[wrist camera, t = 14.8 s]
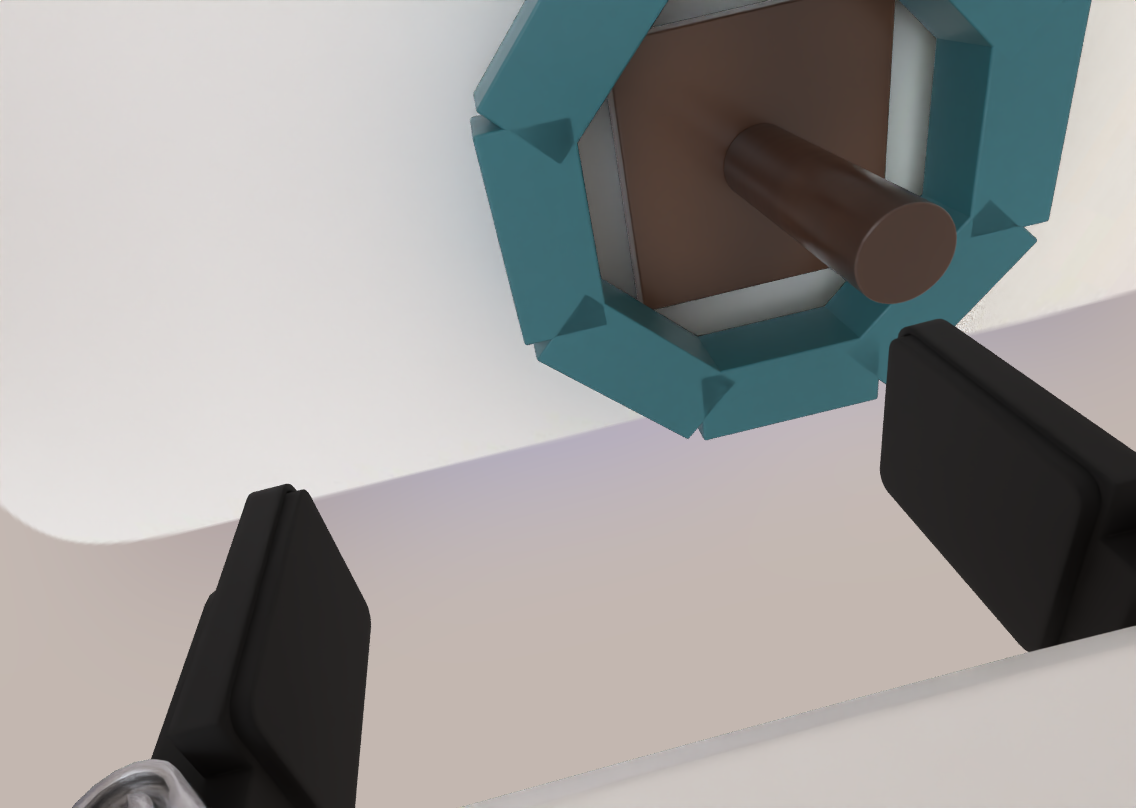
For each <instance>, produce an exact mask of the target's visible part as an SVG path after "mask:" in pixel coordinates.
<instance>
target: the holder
mask: <svg viewBox="0 0 1136 808" xmlns="http://www.w3.org/2000/svg"><path fill="white" fill-rule="evenodd" d="M894 13H895V0H769V1H764V2H760V3H756V4H751V5H747V6H743V7H738V8H734V9H730V10H725V11H721V12H717V13H712V14H708V15H704V16H700V17H695V18H691V19H687V20H682V21H678V22H674V23H669V24H665V25H661V26H656V27H652V28H650V30H649V32H648V33H647V35H646V36H645V38H644V39H643V41H642V42H641V44H640V46H639V47H638V49H637V50H636V52H635V53H634V55H633V57H632V58H631V60H630V61H629V63H628V64H627V66H626V68H625V69H624V71H623V72H622V74H621V75H620V77H619V79H618V80H617V82H616V83H615V85H614V86H613V88H612V90H611V91H610V93H609V94H608V96H607V99H608V105H609V112H610V119H611V126H612V132H613V139H614V146H615V153H616V159H617V166H618V173H619V179H620V186H621V193H622V200H623V206H624V213H625V220H626V227H627V233H628V240H629V247H630V254H631V260H632V267H633V274H634V281H635V287H636V294H637V299H638V301H640V302H641V303H643V304H644V305H646V306H648V307H649V308H651V309H653V310H655V309H659V308H663V307H668V306H672V305H676V304H680V303H684V302H688V301H693V300H697V299H701V298H705V297H709V296H713V295H718V294H722V293H726V292H730V291H734V290H738V289H743V288H747V287H751V286H755V285H759V284H763V283H768V282H772V281H776V280H780V279H784V278H788V277H793V276H797V275H801V274H805V273H809V272H814V271H818V270H822V269H826V268H831V269H832V270H833V271H835V272H836V273H837V274H838V275H840V276H841V277H842V278H843V279H845V280H846V281H847V282H848V283H850V284H851V285H852V286H853V287H855V288H856V289H857V290H858V291H860V292H861V293H862V294H863V295H865V296H866V297H867V298H869V299H871V300H873V301H875V302H878V303H882V304H897V303H903V302H906V301H909V300H911V299H914V298H916V297H918V296H920V295H921V294H923V293H924V292H926V291H927V290H929V289H930V288H931V287H932V286H933V285H934V284H935V283H936V282H937V281H938V280H939V279H940V278H941V277H942V276H943V274H944V273H945V271H946V270H947V268H948V267H949V265H950V263H951V261H952V258H953V256H954V253H955V249H956V244H957V232H956V227H955V224H954V222H953V219H952V218H951V216H950V215H949V213H948V212H947V211H946V210H945V209H943V208H942V207H940V206H938V205H936V204H934V203H932V202H930V201H928V200H926V199H924V198H922V197H920V196H918V195H916V194H914V193H912V192H910V191H908V190H906V189H904V188H902V187H900V186H898V185H896V184H894V183H892V182H890V181H888V180H886V179H885V167H886V149H887V132H888V115H889V98H890V81H891V64H892V47H893V30H894Z"/></svg>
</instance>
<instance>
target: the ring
mask: <svg viewBox="0 0 1136 808" xmlns="http://www.w3.org/2000/svg"><path fill="white" fill-rule="evenodd" d="M899 1H900V2H901V3H902V4H903V5H904V6H905V7H906V8H907V9H908V10H909V11H910V12H911V13H912V14H913V15H914V16H915V17H916V18H917V19H918V20H919V21H920V22H921V23H922V24H923V25H924V26H925V27H926V28H927V29H928V30H929V31H930V32H931V33H932V35H933V36H934V37H935V38H936V50H935V61H934V72H933V83H932V94H931V105H930V116H929V127H928V138H927V149H926V160H925V171H924V182H923V193H922V195H921V196H920V197H922V198H924V199H926V200H928V201H930V202H932V203H934V204H936V205H938V206H940V207H942V208H943V209H945V210H946V211H947V212H948V213H949V215H950V216H951V218H952V219H953V222H954V224H955V227H956V232H957V244H956V249H955V253H954V256H953V258H952V261H951V263H950V265H949V267H948V268H947V270H946V271H945V273H944V274H943V276H942V277H941V278H940V279H939V280H938V281H937V282H936V283H935V284H934V285H933V286H932V287H931V288H930V289H929V290H927V291H926V292H924V293H923V294H921V295H920V296H918V297H916V298H914V299H911V300H909V301H906V302H903V303H897V304H882V303H878V302H875V301H873V300H871V299H869V298H867V297H866V296H865V295H863V294H862V293H861V292H860V291H858V290H857V289H856V288H855V287H853V286H852V285H851V284H850V283H848V282H847V281H846V282H845V283H844V284H843V285H842V287H841V288H840V289H839V290H838V291H837V292H836V293H835V295H834V296H833V297H832V298H831V299H830V300H829V302H828V303H827V304H826V305H825V306H823V307H819V308H815V309H811V310H806V311H802V312H798V313H794V314H790V315H786V316H781V317H777V318H773V319H769V320H765V321H760V322H756V323H752V324H748V325H744V326H739V327H735V328H731V329H727V330H723V331H719V332H714V333H710V334H706V335H702V336H698V337H697V336H696V335H694V334H692V333H691V332H689V331H687V330H686V329H684V328H682V327H681V326H679V325H677V324H676V323H674V322H672V321H671V320H669V319H668V318H666V317H664V316H663V315H661V314H659V313H658V312H656V311H654V310H653V309H651V308H649V307H648V306H646V305H644V304H643V303H641V302H640V301H638V300H636V299H635V298H633V297H631V296H630V295H628V294H626V293H625V292H623V291H621V290H620V289H618V288H616V287H615V286H613V285H611V284H610V283H608V282H607V281H605V280H603V279H602V278H601V275H600V269H599V263H598V258H597V252H596V246H595V240H594V235H593V229H592V223H591V217H590V212H589V206H588V200H587V195H586V189H585V183H584V177H583V172H582V166H581V160H580V154H579V149H578V141H579V140H580V138H581V137H582V135H583V134H584V132H585V130H586V129H587V127H588V126H589V124H590V123H591V121H592V119H593V118H594V116H595V115H596V113H597V112H598V110H599V108H600V107H601V105H602V104H603V102H604V101H605V99H606V97H607V96H608V94H609V93H610V91H611V90H612V88H613V86H614V85H615V83H616V82H617V80H618V79H619V77H620V75H621V74H622V72H623V71H624V69H625V68H626V66H627V64H628V63H629V61H630V60H631V58H632V57H633V55H634V53H635V52H636V50H637V49H638V47H639V46H640V44H641V42H642V41H643V39H644V38H645V36H646V35H647V33H648V32H649V30H650V28H651V27H652V25H653V24H654V22H655V21H656V19H657V17H658V16H659V14H660V13H661V11H662V10H663V8H664V6H665V5H666V3H667V2H668V0H525V2H524V4H523V5H522V7H521V9H520V11H519V13H518V14H517V16H516V18H515V20H514V22H513V23H512V25H511V27H510V29H509V31H508V32H507V34H506V36H505V38H504V39H503V41H502V43H501V45H500V47H499V48H498V50H497V52H496V54H495V56H494V57H493V59H492V61H491V63H490V65H489V66H488V68H487V70H486V72H485V73H484V75H483V77H482V79H481V81H480V82H479V84H478V86H477V88H476V90H475V91H474V101H475V106H476V111H477V112H478V113H479V114H480V116H475V117H472V118H471V119H470V123H471V130H472V137H473V142H474V146H475V150H476V154H477V158H478V162H479V165H480V169H481V173H482V177H483V181H484V185H485V189H486V193H487V197H488V201H489V205H490V209H491V213H492V217H493V221H494V225H495V229H496V233H497V237H498V241H499V245H500V248H501V252H502V256H503V260H504V264H505V268H506V272H507V276H508V280H509V284H510V288H511V292H512V296H513V300H514V304H515V308H516V312H517V316H518V320H519V324H520V328H521V332H522V335H523V339H524V343H525V344H526V345H530V344H534V348H535V352H536V357H537V360H538V361H540V362H542V363H544V364H546V365H547V366H549V367H551V368H553V369H555V370H557V371H559V372H561V373H563V374H565V375H566V376H568V377H570V378H572V379H574V380H576V381H578V382H580V383H582V384H584V385H586V386H587V387H589V388H591V389H593V390H595V391H597V392H599V393H601V394H603V395H605V396H607V397H608V398H610V399H612V400H614V401H616V402H618V403H620V404H622V405H624V406H626V407H628V408H629V409H631V410H633V411H635V412H637V413H639V414H641V415H643V416H645V417H647V418H649V419H650V420H652V421H654V422H656V423H658V424H660V425H662V426H664V427H666V428H668V429H669V430H671V431H673V432H675V433H677V434H679V435H681V436H683V437H685V438H687V439H688V438H690V436H691V435H692V434H693V433H694V431H696V429H697V428H698V429H699V431H700V433H701V434H702V436H703V438H704V440H709V439H713V438H717V437H721V436H725V435H730V434H734V433H738V432H742V431H746V430H750V429H754V428H758V427H763V426H767V425H771V424H775V423H779V422H783V421H787V420H792V419H796V418H800V417H804V416H808V415H812V414H816V413H821V412H824V411H829V410H833V409H837V408H841V407H845V406H850V405H854V404H858V403H862V402H866V401H870V400H874V399H877V397H878V381H879V380H880V381H882V382H883V383H885V384H886V381H887V368H888V355H889V346H890V343H891V341H892V340H894V339H896V338H898V334H899V332H900V330H901V329H903V328H904V327H907V326H911V325H915V324H918V323H922V322H926V321H930V320H934V319H944V320H946V321H948V322H949V323H951V324H952V325H954V326H956V325H957V323H958V322H959V321H960V320H961V319H962V318H963V317H964V316H965V315H966V314H967V313H968V312H969V311H970V310H971V309H972V308H973V307H974V306H975V305H976V304H977V303H978V302H979V301H980V300H981V299H982V298H983V297H984V296H985V295H986V294H987V293H988V292H989V290H990V289H991V288H992V287H993V286H994V285H995V284H996V283H997V282H998V281H999V280H1000V279H1001V278H1002V277H1003V276H1004V275H1005V274H1006V273H1007V272H1008V271H1009V270H1010V269H1011V268H1012V267H1013V266H1014V265H1015V264H1016V263H1017V262H1018V261H1019V260H1020V258H1021V257H1022V256H1023V255H1024V254H1025V253H1026V252H1027V251H1028V250H1029V249H1030V248H1031V247H1032V246H1033V245H1034V244H1035V243H1036V242H1037V239H1036V238H1035V237H1034V236H1033V235H1032V234H1031V233H1030V232H1029V231H1028V230H1026V229H1025V228H1024V227H1025V226H1029V225H1034V224H1038V223H1042V222H1046V221H1048V220H1049V216H1050V211H1051V206H1052V201H1053V196H1054V190H1055V185H1056V180H1057V175H1058V170H1059V165H1060V160H1061V154H1062V149H1063V144H1064V139H1065V134H1066V129H1067V124H1068V118H1069V113H1070V108H1071V103H1072V98H1073V93H1074V88H1075V82H1076V77H1077V72H1078V67H1079V62H1080V57H1081V52H1082V46H1083V41H1084V36H1085V31H1086V26H1087V21H1088V16H1089V10H1090V5H1091V0H899Z"/></svg>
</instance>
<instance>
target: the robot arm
mask: <svg viewBox="0 0 1136 808" xmlns="http://www.w3.org/2000/svg"><path fill="white" fill-rule="evenodd" d="M880 475H881V479H882V482H883V484H884V486H885V488H886V490H887V491H888V493H889V494H890V495H891V496H892V497H893V498H894V500H895V501H896V502H897V503H898V504H899V505H900V507H901V508H902V509H903V510H904V511H905V512H906V513H907V515H908V516H909V517H910V518H911V519H912V520H913V521H914V523H915V524H916V525H917V526H918V527H919V529H920V530H921V531H922V532H923V533H924V534H925V536H926V537H927V538H928V539H929V540H930V541H931V542H932V544H933V545H934V546H935V547H936V548H937V549H938V550H939V551H940V553H941V554H942V555H943V556H944V558H945V559H946V560H947V561H948V562H949V563H950V564H951V566H952V567H953V568H954V569H955V570H956V571H957V572H958V574H959V575H960V576H961V577H962V578H963V579H964V581H965V582H966V583H967V584H968V585H969V586H970V588H971V589H972V590H973V591H974V592H975V593H976V595H977V596H978V597H979V598H980V599H981V600H982V602H983V603H984V604H985V605H986V606H987V607H988V609H989V610H990V611H991V612H992V613H993V614H994V615H995V617H997V619H998V620H999V621H1000V622H1001V624H1002V625H1003V626H1004V627H1005V628H1006V629H1007V631H1008V632H1009V633H1010V634H1011V635H1012V636H1013V638H1015V640H1016V641H1017V642H1018V643H1019V644H1020V645H1021V646H1022V647H1023V648H1024V649H1025V650H1026V651H1028V653H1024V654H1021V655H1017V656H1013V657H1009V658H1005V659H1002V660H998V661H994V662H990V663H987V664H983V665H979V666H976V667H972V668H968V669H965V670H961V671H957V672H953V673H950V674H946V675H942V676H938V677H935V678H931V679H927V680H923V681H919V682H916V683H912V684H908V685H904V686H901V687H897V688H893V689H890V690H886V691H882V692H878V693H874V694H871V695H867V696H863V697H859V698H856V699H852V700H849V701H845V702H841V703H837V704H834V705H830V706H826V707H823V708H819V709H815V710H812V711H808V712H804V713H801V714H797V715H793V716H790V717H786V718H782V719H778V720H775V721H772V722H768V723H764V724H760V725H757V726H753V727H749V728H746V729H742V730H738V731H734V732H731V733H727V734H723V735H720V736H716V737H713V738H709V739H705V740H701V741H698V742H694V743H691V744H687V745H683V746H680V747H676V748H672V749H669V750H665V751H661V752H658V753H654V754H650V755H647V756H643V757H639V758H636V759H632V760H629V761H625V762H622V763H618V764H614V765H611V766H607V767H603V768H600V769H597V770H593V771H589V772H586V773H582V774H578V775H575V776H571V777H568V778H564V779H560V780H557V781H553V782H550V783H546V784H542V785H539V786H536V787H532V788H528V789H524V790H521V791H517V792H514V793H510V794H506V795H503V796H500V797H496V798H493V799H489V800H485V801H482V802H478V803H474V804H471V805H467V806H464V807H460V808H1136V452H1135V451H1133V450H1131V449H1130V448H1128V447H1127V446H1126V445H1125V444H1123V443H1122V442H1120V441H1119V440H1117V439H1116V438H1114V437H1113V436H1111V435H1110V434H1109V433H1107V432H1106V431H1104V430H1103V429H1102V428H1100V427H1099V426H1097V425H1096V424H1094V423H1093V422H1091V421H1090V420H1089V419H1087V418H1086V417H1084V416H1083V415H1081V414H1080V413H1078V412H1077V411H1076V410H1074V409H1073V408H1071V407H1070V406H1068V405H1067V404H1066V403H1064V402H1063V401H1061V400H1060V399H1058V398H1057V397H1056V396H1054V395H1053V394H1051V393H1050V392H1048V391H1047V390H1045V389H1044V388H1043V387H1041V386H1040V385H1038V384H1037V383H1035V382H1034V381H1033V380H1031V379H1030V378H1028V377H1027V376H1025V375H1024V374H1022V373H1021V372H1020V371H1018V370H1017V369H1015V368H1014V367H1012V366H1011V365H1009V364H1008V363H1007V362H1005V361H1004V360H1002V359H1001V358H999V357H998V356H997V355H995V354H994V353H992V352H991V351H989V350H988V349H986V348H985V347H984V346H982V345H981V344H979V343H978V342H977V341H975V340H974V339H972V338H971V337H969V336H968V335H966V334H965V333H964V332H962V331H961V330H959V329H958V328H956V327H955V326H954V325H952V324H951V323H949V322H948V321H946V320H944V319H934V320H930V321H926V322H922V323H918V324H915V325H911V326H907V327H904V328H903V329H901V330H900V332H899V334H898V338H896V339H894V340H892V341H891V343H890V346H889V355H888V368H887V381H886V395H885V408H884V421H883V434H882V449H881V461H880ZM370 620H371V619H370V614H369V609H368V606H367V604H366V602H365V600H364V598H363V596H362V594H361V592H360V590H359V588H358V586H357V584H356V582H355V580H354V579H353V577H352V575H351V573H350V571H349V569H348V567H347V565H346V563H345V561H344V559H343V558H342V556H341V554H340V552H339V550H338V548H337V546H336V544H335V542H334V540H333V538H332V536H331V534H330V533H329V531H328V529H327V527H326V525H325V523H324V521H323V519H322V517H321V515H320V513H319V512H318V510H317V508H316V506H315V504H314V502H313V500H312V498H311V496H310V495H309V493H308V492H307V491H306V490H299V491H296V489H295V488H294V487H293V486H292V485H291V484H284V485H280V486H276V487H272V488H268V489H264V490H260V491H256V492H253V493H251V494H249V496H248V498H247V500H246V503H245V506H244V509H243V512H242V515H241V518H240V521H239V524H238V527H237V530H236V532H235V535H234V539H233V541H232V544H231V547H230V550H229V553H228V556H227V559H226V562H225V565H224V568H223V571H222V574H221V577H220V580H219V583H218V586H217V588H216V591H214V592H213V593H212V594H211V595H210V596H209V598H208V600H207V602H206V604H205V606H204V609H203V612H202V615H201V618H200V620H199V624H198V626H197V629H196V632H195V635H194V638H193V641H192V643H191V646H190V649H189V652H188V655H187V658H186V661H185V663H184V666H183V669H182V672H181V675H180V678H179V681H178V684H177V686H176V689H175V692H174V695H173V698H172V701H171V703H170V706H169V709H168V713H167V715H166V718H165V721H164V724H163V727H162V729H161V732H160V735H159V738H158V741H157V744H156V746H155V749H154V752H153V755H152V758H151V759H150V760H144V761H139V762H134V763H132V764H129V765H127V766H125V767H123V768H121V769H118V770H116V771H114V772H113V773H111V774H110V775H108V776H107V777H106V778H104V779H103V780H101V781H100V782H99V783H97V784H95V785H94V786H93V787H92V788H91V789H90V790H89V791H88V792H87V793H86V794H85V795H84V796H82V797H81V799H79V800H78V801H77V802H76V803H75V805H74V806H73V807H72V808H355V801H356V788H357V777H358V767H359V756H360V745H361V734H362V722H363V711H364V699H365V688H366V677H367V665H368V653H369V643H370V632H371V621H370Z"/></svg>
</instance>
